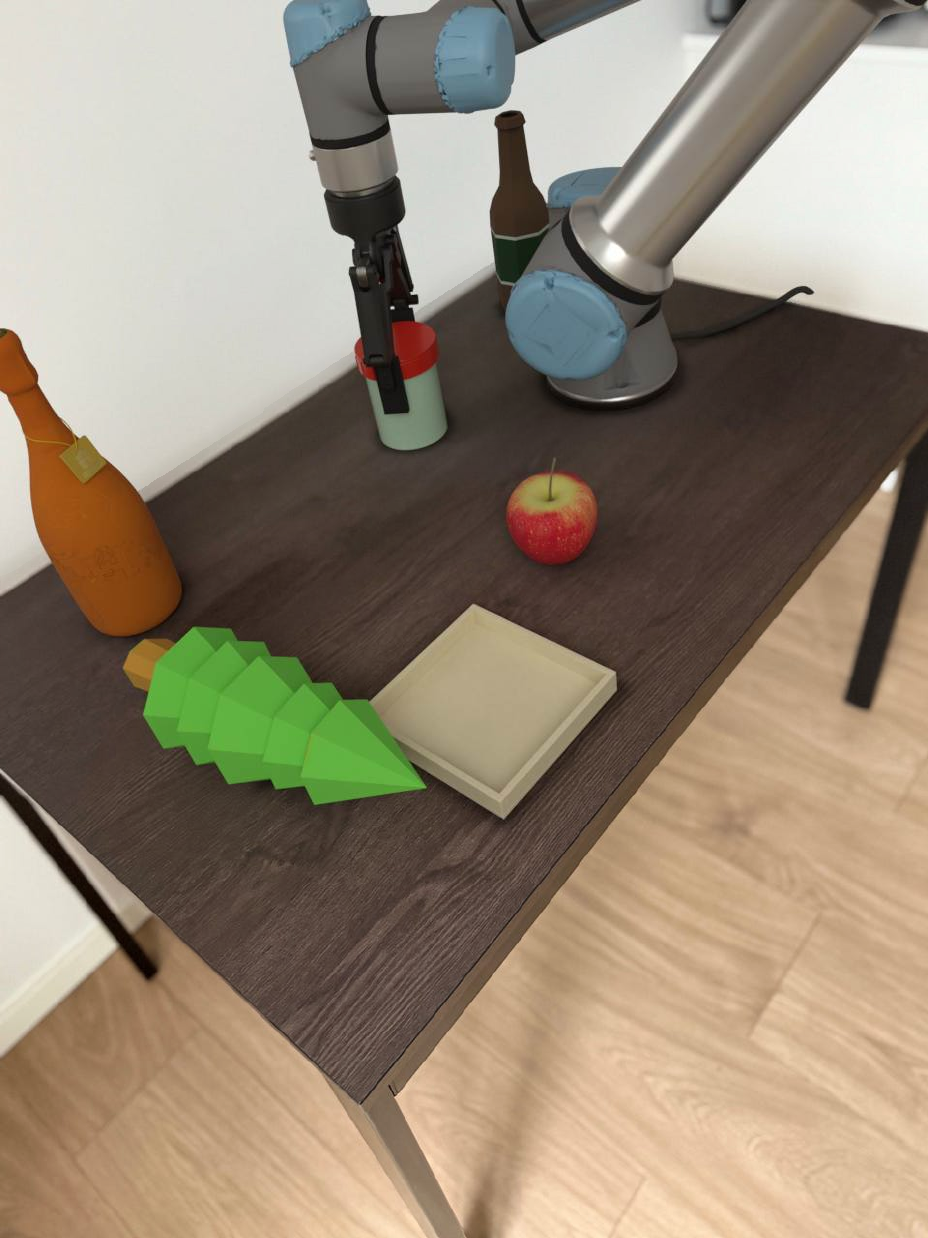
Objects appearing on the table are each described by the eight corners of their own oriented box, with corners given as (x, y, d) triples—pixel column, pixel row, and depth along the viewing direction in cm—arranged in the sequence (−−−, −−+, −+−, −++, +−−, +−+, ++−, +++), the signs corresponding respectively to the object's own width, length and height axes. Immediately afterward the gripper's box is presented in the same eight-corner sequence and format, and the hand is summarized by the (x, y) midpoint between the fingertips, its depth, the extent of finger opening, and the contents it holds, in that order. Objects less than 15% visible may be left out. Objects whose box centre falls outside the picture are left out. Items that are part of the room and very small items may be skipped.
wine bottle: (101, 658, 91) (-66, 381, 70) (82, 599, 97) (-76, 331, 76) (198, 615, 93) (65, 335, 72) (173, 561, 100) (44, 290, 79)
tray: (476, 621, 87) (473, 603, 85) (617, 690, 79) (616, 671, 77) (361, 731, 80) (355, 713, 78) (503, 820, 71) (500, 802, 70)
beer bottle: (553, 318, 125) (536, 122, 108) (495, 320, 127) (470, 128, 110) (560, 289, 130) (546, 99, 113) (505, 292, 132) (482, 105, 115)
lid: (455, 351, 104) (452, 332, 102) (397, 390, 100) (393, 371, 98) (399, 332, 109) (395, 314, 107) (342, 368, 105) (337, 350, 103)
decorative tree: (136, 579, 79) (429, 691, 64) (217, 634, 88) (488, 743, 73) (62, 701, 76) (351, 849, 61) (154, 745, 85) (423, 882, 70)
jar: (411, 404, 115) (393, 320, 107) (461, 421, 111) (446, 335, 103) (365, 438, 111) (344, 353, 103) (415, 457, 107) (397, 370, 99)
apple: (612, 533, 93) (608, 448, 86) (577, 590, 88) (570, 505, 81) (535, 517, 96) (526, 434, 89) (498, 570, 91) (485, 487, 84)
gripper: (345, 144, 100) (387, 338, 115) (296, 235, 84) (353, 446, 100) (415, 135, 98) (448, 333, 114) (378, 227, 83) (423, 441, 98)
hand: (404, 386), depth 107 cm, fingers open, 10 cm apart
